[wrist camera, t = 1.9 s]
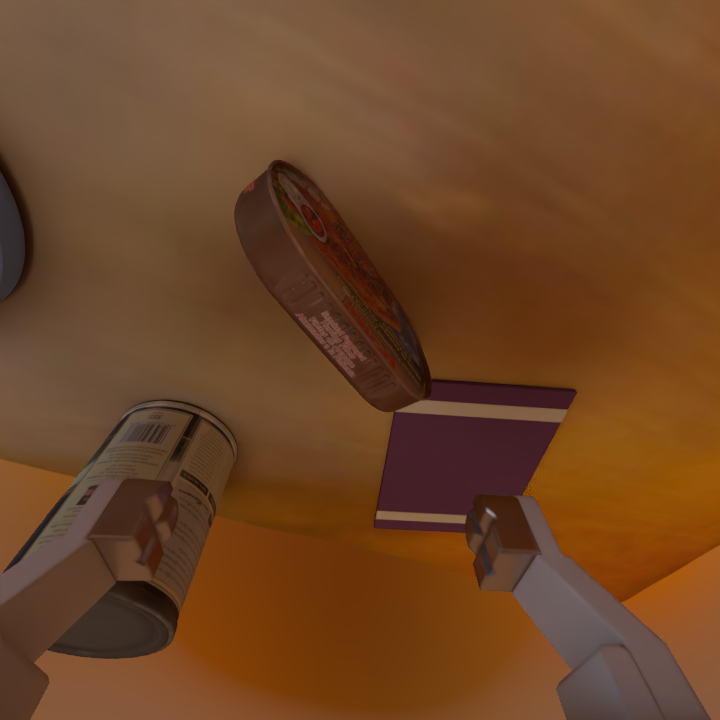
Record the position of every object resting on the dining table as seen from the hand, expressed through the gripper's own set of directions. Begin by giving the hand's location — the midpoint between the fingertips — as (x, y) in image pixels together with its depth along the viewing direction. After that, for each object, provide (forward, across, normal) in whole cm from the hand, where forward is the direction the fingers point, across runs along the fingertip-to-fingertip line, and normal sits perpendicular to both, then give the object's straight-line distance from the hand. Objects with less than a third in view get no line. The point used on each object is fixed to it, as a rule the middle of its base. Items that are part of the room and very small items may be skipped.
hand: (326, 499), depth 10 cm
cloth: (+17, -12, +18) cm, 27 cm away
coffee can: (+17, +14, +17) cm, 28 cm away
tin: (+17, 0, 0) cm, 17 cm away
